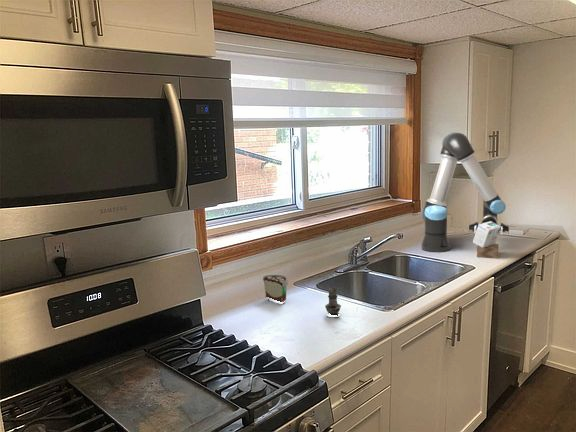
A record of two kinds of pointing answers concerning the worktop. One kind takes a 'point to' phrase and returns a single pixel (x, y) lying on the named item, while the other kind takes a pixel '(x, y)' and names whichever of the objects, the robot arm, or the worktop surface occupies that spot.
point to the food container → (275, 287)
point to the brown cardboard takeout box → (488, 251)
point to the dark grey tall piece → (333, 302)
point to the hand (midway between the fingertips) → (488, 231)
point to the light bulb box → (486, 234)
